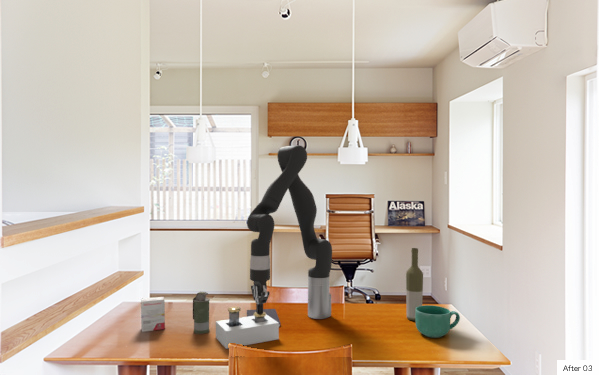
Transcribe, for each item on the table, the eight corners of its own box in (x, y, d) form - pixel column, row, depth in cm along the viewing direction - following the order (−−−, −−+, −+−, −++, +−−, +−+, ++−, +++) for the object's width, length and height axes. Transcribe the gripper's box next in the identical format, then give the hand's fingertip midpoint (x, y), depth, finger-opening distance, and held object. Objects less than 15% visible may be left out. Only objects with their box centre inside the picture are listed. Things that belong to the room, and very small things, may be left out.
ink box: (164, 325, 169) (164, 296, 169) (165, 329, 165) (165, 299, 165) (141, 328, 166) (141, 298, 166) (141, 332, 162) (141, 301, 162)
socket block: (265, 329, 166) (265, 313, 166) (278, 339, 156) (278, 322, 156) (215, 337, 157) (215, 321, 157) (226, 348, 146) (226, 331, 146)
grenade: (212, 329, 165) (212, 291, 165) (204, 334, 160) (204, 295, 159) (198, 327, 167) (198, 289, 167) (189, 332, 162) (189, 293, 161)
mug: (419, 340, 156) (419, 314, 156) (412, 328, 168) (412, 304, 168) (465, 341, 155) (465, 315, 155) (455, 329, 167) (455, 305, 167)
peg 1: (238, 323, 157) (238, 306, 157) (242, 327, 153) (242, 309, 153) (226, 325, 155) (226, 307, 155) (230, 329, 151) (230, 311, 151)
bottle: (425, 321, 177) (426, 249, 176) (408, 322, 176) (409, 249, 176) (419, 316, 184) (419, 247, 183) (403, 316, 183) (403, 247, 183)
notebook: (246, 313, 188) (248, 329, 167) (246, 309, 188) (248, 325, 167) (275, 312, 190) (280, 328, 169) (275, 308, 190) (280, 324, 169)
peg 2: (262, 327, 162) (263, 310, 162) (267, 331, 158) (267, 314, 158) (251, 329, 160) (251, 312, 159) (256, 333, 155) (256, 316, 155)
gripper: (276, 269, 154) (276, 317, 154) (262, 263, 166) (262, 307, 166) (257, 271, 151) (257, 319, 151) (244, 264, 162) (243, 310, 163)
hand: (259, 313), depth 159 cm, fingers closed
